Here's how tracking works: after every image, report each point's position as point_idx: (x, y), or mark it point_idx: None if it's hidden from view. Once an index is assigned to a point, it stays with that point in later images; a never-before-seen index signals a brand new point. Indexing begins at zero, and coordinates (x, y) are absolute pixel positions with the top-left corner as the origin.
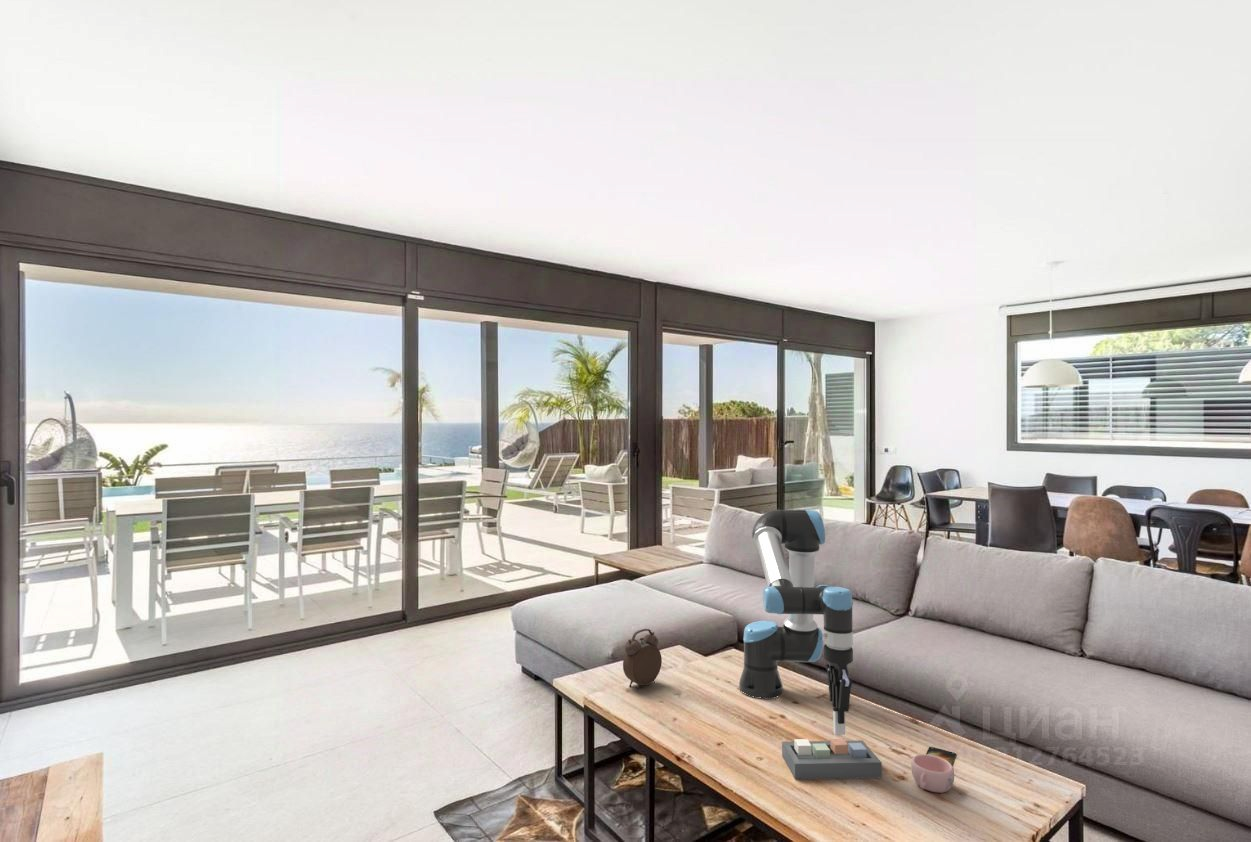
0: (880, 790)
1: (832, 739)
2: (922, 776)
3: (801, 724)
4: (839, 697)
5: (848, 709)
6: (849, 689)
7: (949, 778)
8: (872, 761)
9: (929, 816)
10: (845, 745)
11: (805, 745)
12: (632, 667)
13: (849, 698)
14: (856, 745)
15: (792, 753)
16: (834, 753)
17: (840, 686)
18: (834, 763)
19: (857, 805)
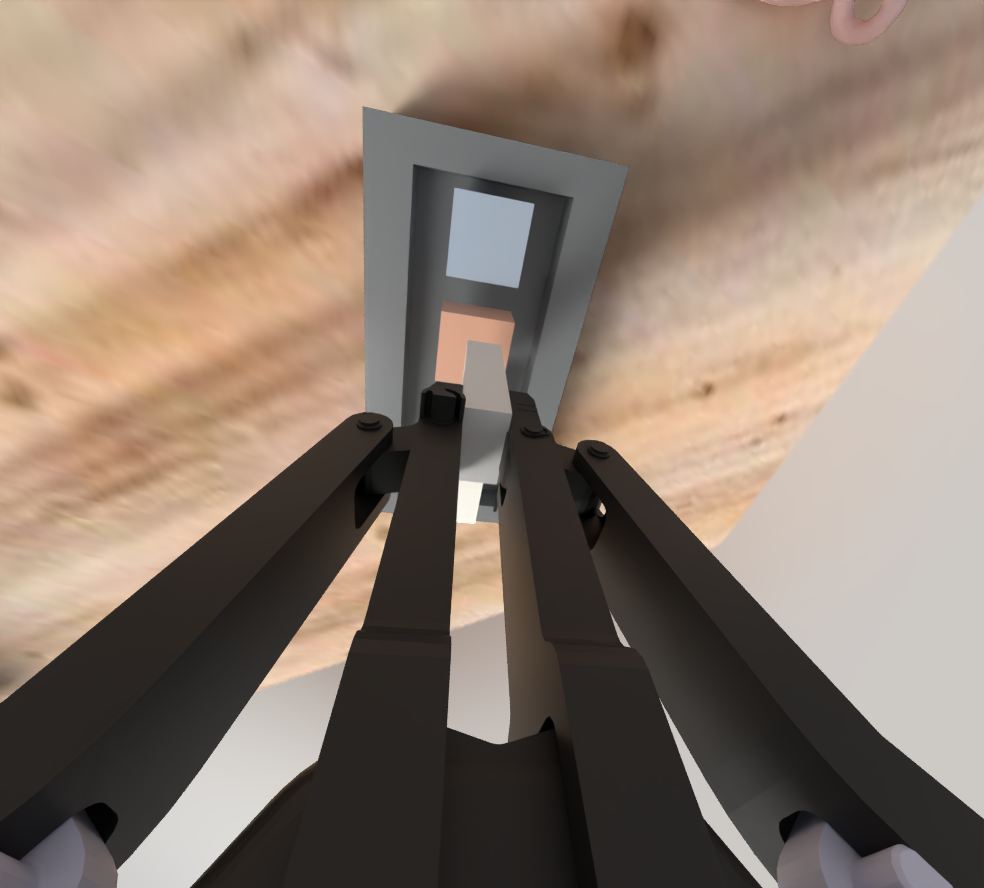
0: (677, 249)
1: (443, 373)
2: (906, 2)
3: (55, 292)
4: (622, 613)
5: (620, 459)
6: (825, 697)
7: None
8: (604, 219)
9: (914, 152)
10: (511, 337)
11: (478, 502)
12: None
13: (708, 553)
14: (479, 240)
15: None
16: (423, 323)
17: (731, 791)
18: (558, 405)
19: (706, 389)
